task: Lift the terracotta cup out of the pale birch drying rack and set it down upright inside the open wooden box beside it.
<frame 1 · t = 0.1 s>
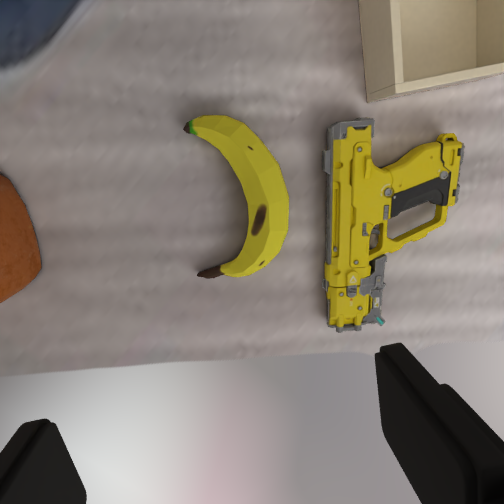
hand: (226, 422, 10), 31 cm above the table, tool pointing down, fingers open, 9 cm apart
toy gun: (379, 227, 42), on the table
open wooden box: (420, 26, 36), on the table
banana: (221, 201, 39), on the table
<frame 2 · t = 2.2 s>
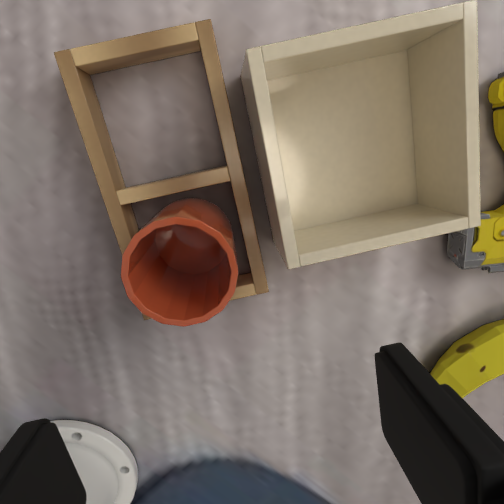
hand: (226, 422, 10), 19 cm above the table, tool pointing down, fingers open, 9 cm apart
open wooden box: (338, 147, 26), on the table
rack: (178, 182, 26), on the table
cup: (193, 237, 27), resting in rack
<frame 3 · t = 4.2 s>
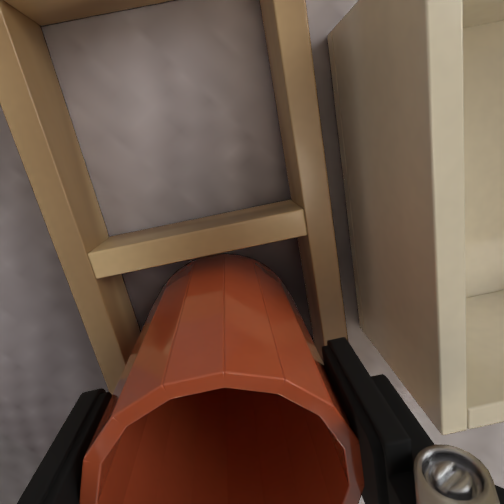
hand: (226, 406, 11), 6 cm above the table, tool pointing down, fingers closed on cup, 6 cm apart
open wooden box: (487, 170, 15), on the table
rack: (203, 229, 15), on the table
cup: (225, 319, 16), resting in rack, touching gripper
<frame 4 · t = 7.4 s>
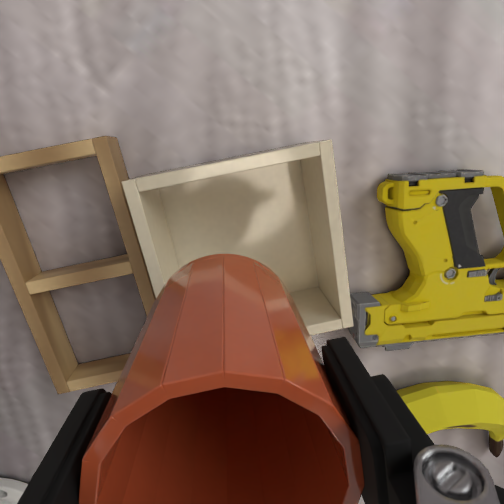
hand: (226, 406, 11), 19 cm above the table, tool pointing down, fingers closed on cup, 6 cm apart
toy gun: (481, 253, 31), on the table
open wooden box: (242, 236, 28), on the table
rack: (91, 267, 28), on the table
banana: (415, 430, 36), on the table
cup: (224, 319, 16), point 13 cm above the table, touching gripper
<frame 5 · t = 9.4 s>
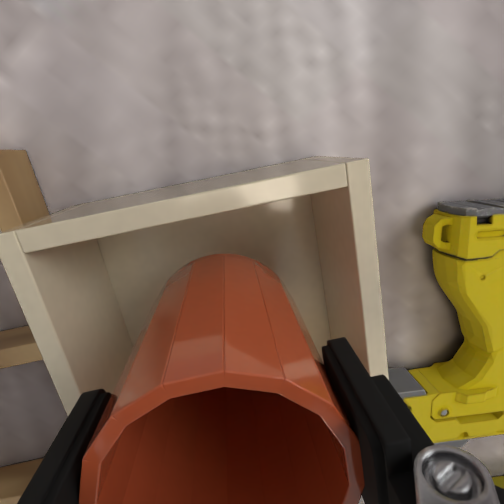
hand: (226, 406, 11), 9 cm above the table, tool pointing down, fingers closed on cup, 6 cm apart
open wooden box: (223, 292, 19), on the table
rack: (1, 339, 19), on the table
cup: (225, 319, 16), point 4 cm above the table, touching gripper
when the fingers open (6 cm above the table, at t = 10.6 s): cup stays where it is, resting on open wooden box.
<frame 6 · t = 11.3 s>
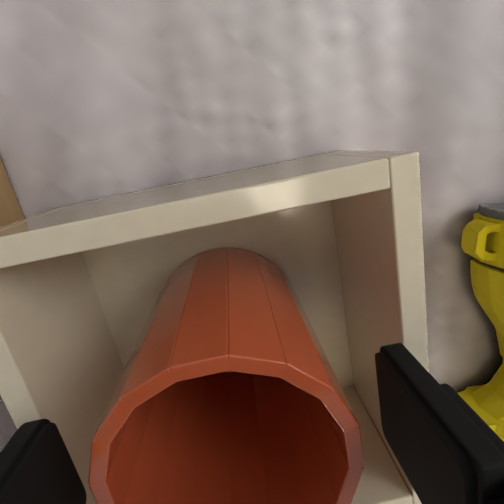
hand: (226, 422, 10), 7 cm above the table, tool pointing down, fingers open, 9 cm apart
open wooden box: (227, 307, 17), on the table
cup: (228, 312, 16), point 1 cm above the table, touching open wooden box
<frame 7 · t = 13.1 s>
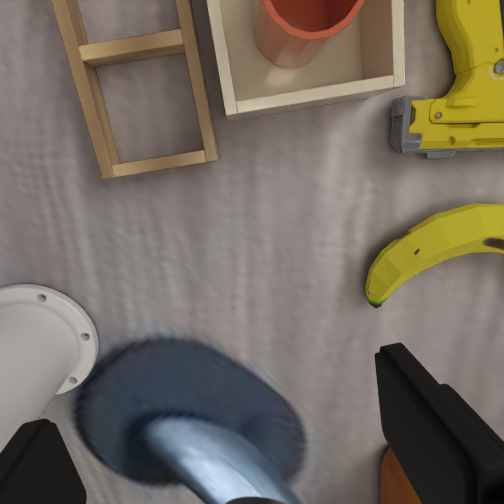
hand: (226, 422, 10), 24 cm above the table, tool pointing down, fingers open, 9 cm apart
open wooden box: (289, 27, 28), on the table
rack: (139, 53, 28), on the table
banana: (447, 270, 36), on the table
cup: (291, 24, 28), point 1 cm above the table, touching open wooden box
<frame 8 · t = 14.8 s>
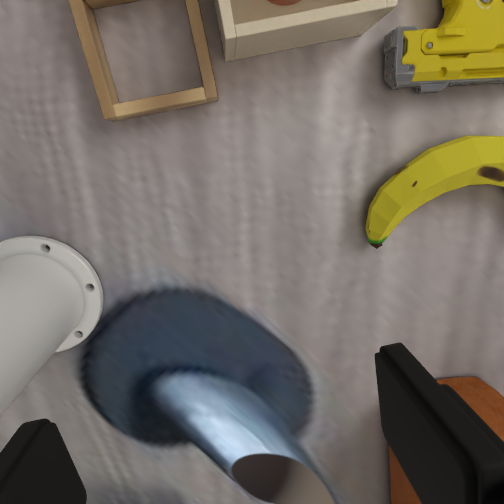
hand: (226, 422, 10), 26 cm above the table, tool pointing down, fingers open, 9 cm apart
bread: (433, 477, 47), on the table
banana: (444, 209, 36), on the table
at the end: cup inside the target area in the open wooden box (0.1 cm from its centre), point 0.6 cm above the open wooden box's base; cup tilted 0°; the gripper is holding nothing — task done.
